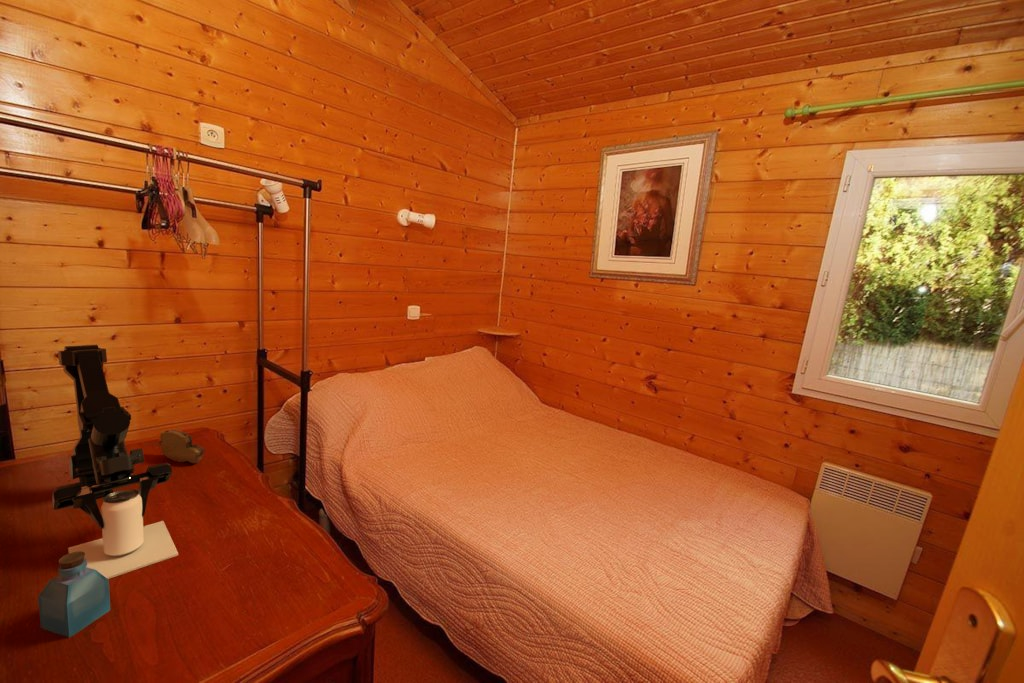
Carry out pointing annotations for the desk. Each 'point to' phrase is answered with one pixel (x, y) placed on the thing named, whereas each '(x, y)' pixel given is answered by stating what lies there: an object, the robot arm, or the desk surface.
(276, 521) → the desk surface
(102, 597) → the perfume bottle
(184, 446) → the wooden carving
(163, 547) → the beige mat
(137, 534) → the can
